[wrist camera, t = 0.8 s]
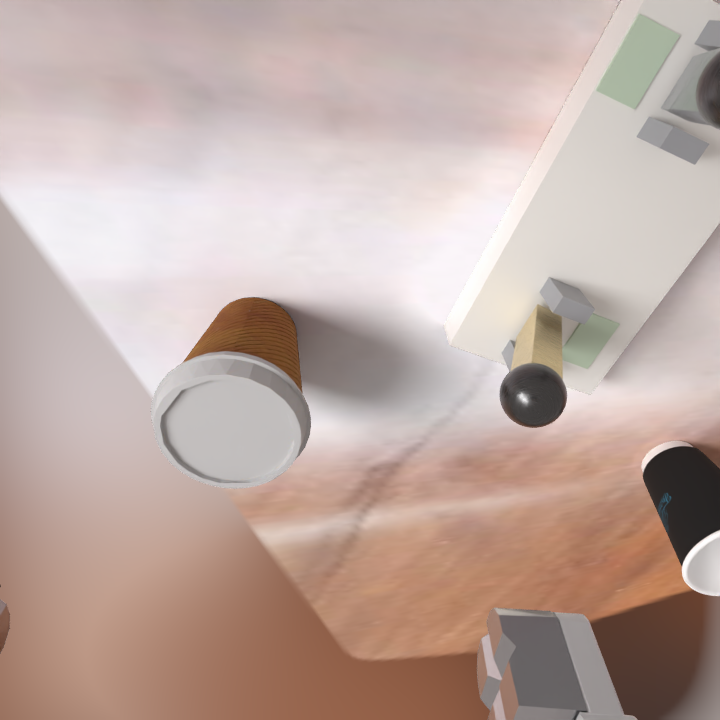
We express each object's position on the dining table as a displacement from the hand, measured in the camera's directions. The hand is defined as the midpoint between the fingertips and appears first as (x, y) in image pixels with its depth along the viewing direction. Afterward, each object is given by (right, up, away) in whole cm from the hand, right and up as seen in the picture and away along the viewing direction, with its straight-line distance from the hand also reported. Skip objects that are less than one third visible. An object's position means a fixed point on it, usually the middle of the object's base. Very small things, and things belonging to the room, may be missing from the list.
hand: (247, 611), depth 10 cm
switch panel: (+18, +14, +30) cm, 38 cm away
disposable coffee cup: (-6, +6, +35) cm, 36 cm away
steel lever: (+20, +19, +23) cm, 36 cm away
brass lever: (+14, +7, +31) cm, 35 cm away
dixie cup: (+29, -5, +42) cm, 52 cm away
